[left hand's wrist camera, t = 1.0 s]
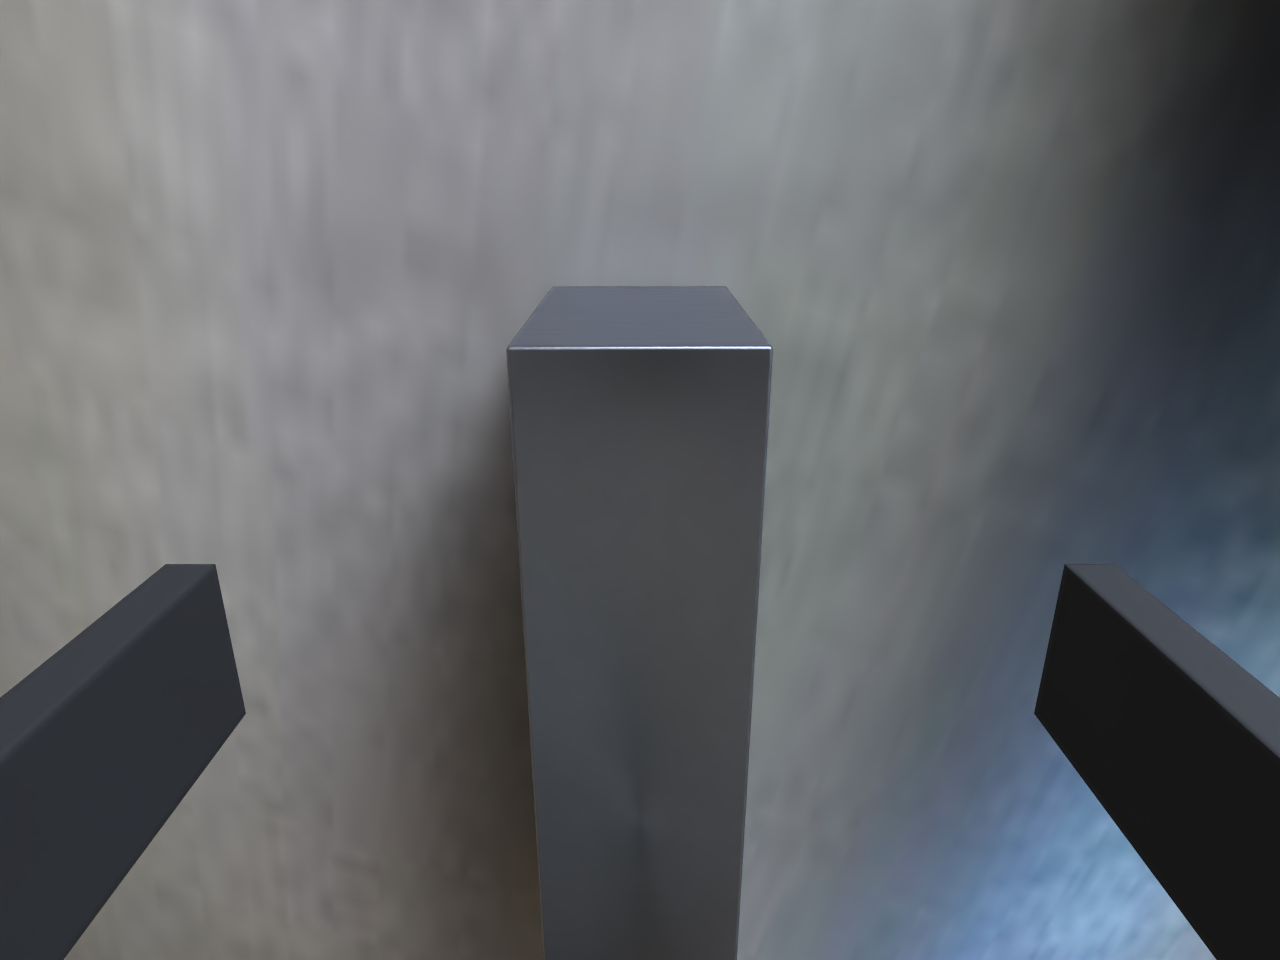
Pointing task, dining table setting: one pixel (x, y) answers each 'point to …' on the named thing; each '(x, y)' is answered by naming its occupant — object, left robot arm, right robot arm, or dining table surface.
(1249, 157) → the dining table surface
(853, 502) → the dining table surface
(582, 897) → the bar
